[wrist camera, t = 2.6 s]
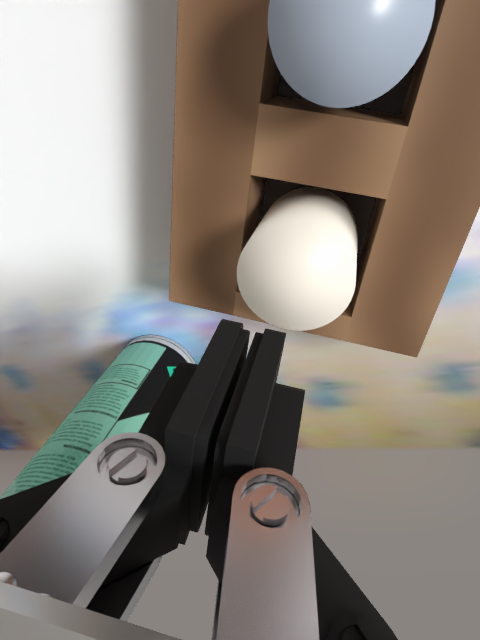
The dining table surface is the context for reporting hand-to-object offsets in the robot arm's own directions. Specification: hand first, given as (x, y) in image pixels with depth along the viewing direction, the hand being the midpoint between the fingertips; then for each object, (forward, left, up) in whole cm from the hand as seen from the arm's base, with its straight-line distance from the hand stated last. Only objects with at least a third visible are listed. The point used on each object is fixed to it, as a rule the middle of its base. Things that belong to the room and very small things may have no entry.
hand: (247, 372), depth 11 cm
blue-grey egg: (0, -8, -11) cm, 13 cm away
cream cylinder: (0, 0, -11) cm, 11 cm away
